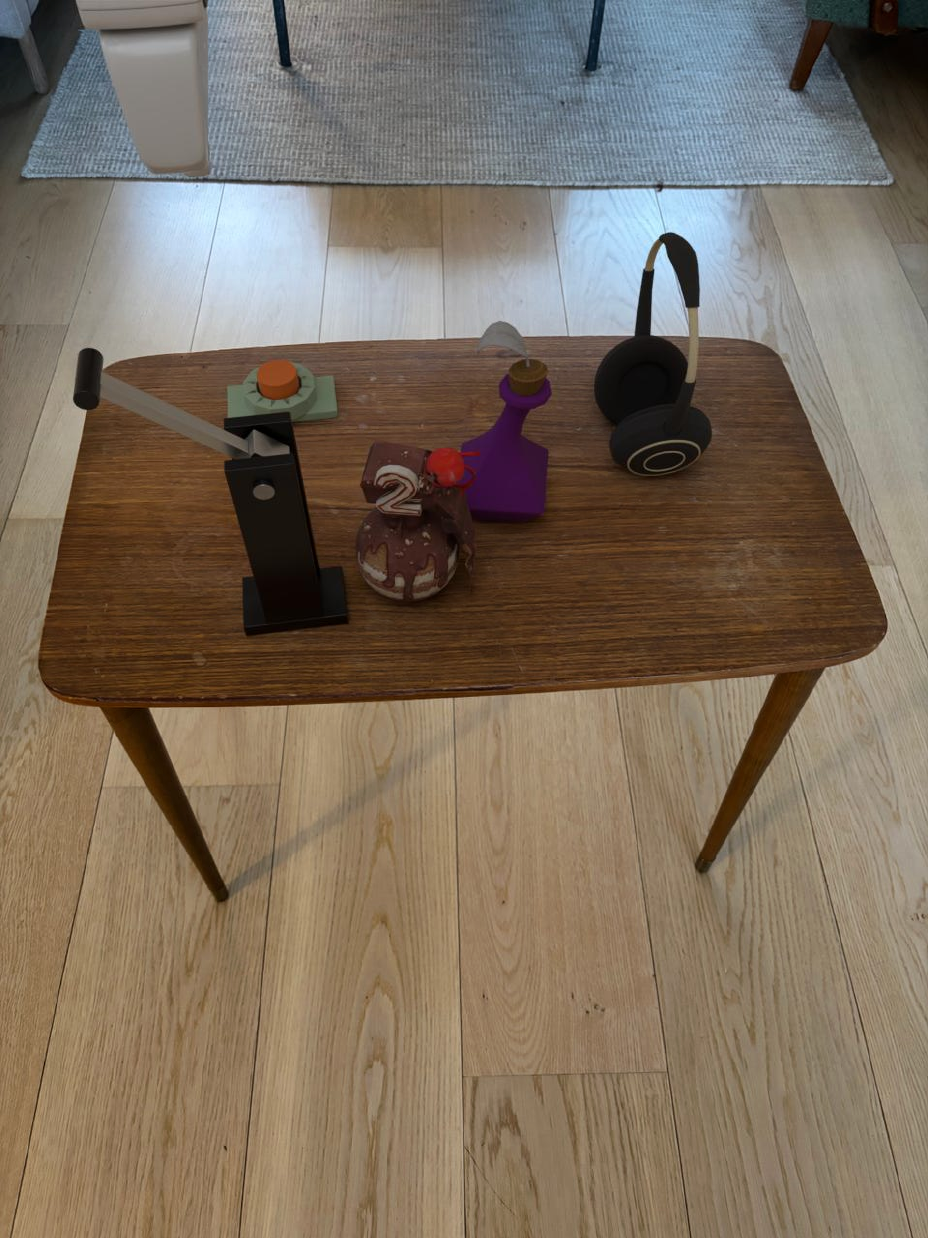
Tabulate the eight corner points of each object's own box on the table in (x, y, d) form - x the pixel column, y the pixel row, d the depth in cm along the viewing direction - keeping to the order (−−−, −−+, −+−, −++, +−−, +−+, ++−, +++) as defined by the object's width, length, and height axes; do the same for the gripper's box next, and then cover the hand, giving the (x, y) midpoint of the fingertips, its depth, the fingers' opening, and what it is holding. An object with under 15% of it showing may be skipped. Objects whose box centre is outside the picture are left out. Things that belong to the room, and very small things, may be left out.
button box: (229, 434, 90) (224, 414, 88) (228, 387, 94) (223, 366, 92) (339, 423, 91) (336, 402, 89) (333, 377, 95) (331, 356, 93)
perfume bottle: (546, 475, 87) (562, 302, 72) (541, 540, 83) (557, 369, 68) (461, 470, 87) (460, 296, 73) (453, 533, 83) (449, 362, 68)
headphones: (671, 388, 94) (713, 190, 78) (711, 502, 85) (768, 305, 69) (582, 395, 93) (606, 197, 77) (613, 510, 84) (647, 314, 68)
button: (260, 402, 89) (257, 387, 88) (259, 376, 92) (256, 361, 90) (300, 398, 90) (297, 383, 88) (298, 372, 92) (295, 357, 90)
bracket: (246, 641, 76) (195, 479, 62) (244, 581, 80) (196, 415, 66) (349, 628, 77) (322, 466, 63) (343, 569, 81) (316, 403, 66)
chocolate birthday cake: (482, 549, 82) (484, 412, 70) (468, 628, 77) (469, 496, 65) (370, 537, 83) (354, 400, 71) (350, 615, 78) (329, 481, 66)
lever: (64, 408, 57) (83, 381, 56) (70, 364, 60) (88, 337, 58) (271, 500, 66) (291, 479, 65) (269, 458, 68) (289, 436, 67)
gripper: (98, -134, 61) (155, 94, 72) (71, 10, 49) (144, 256, 60) (201, -140, 62) (241, 87, 73) (198, 2, 50) (248, 247, 61)
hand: (197, 165), depth 67 cm, fingers closed
